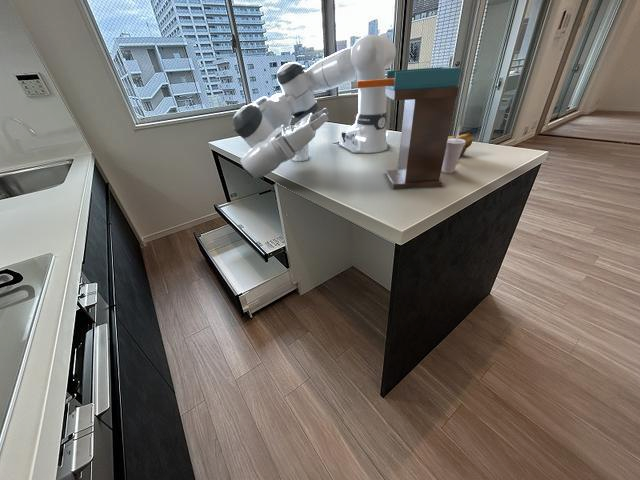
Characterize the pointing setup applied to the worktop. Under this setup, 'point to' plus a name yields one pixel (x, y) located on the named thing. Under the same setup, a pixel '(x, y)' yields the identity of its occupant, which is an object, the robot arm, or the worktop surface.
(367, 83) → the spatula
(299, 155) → the white cup
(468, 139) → the bread roll
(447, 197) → the worktop surface
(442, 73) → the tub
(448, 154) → the smoothie
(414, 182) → the stand
